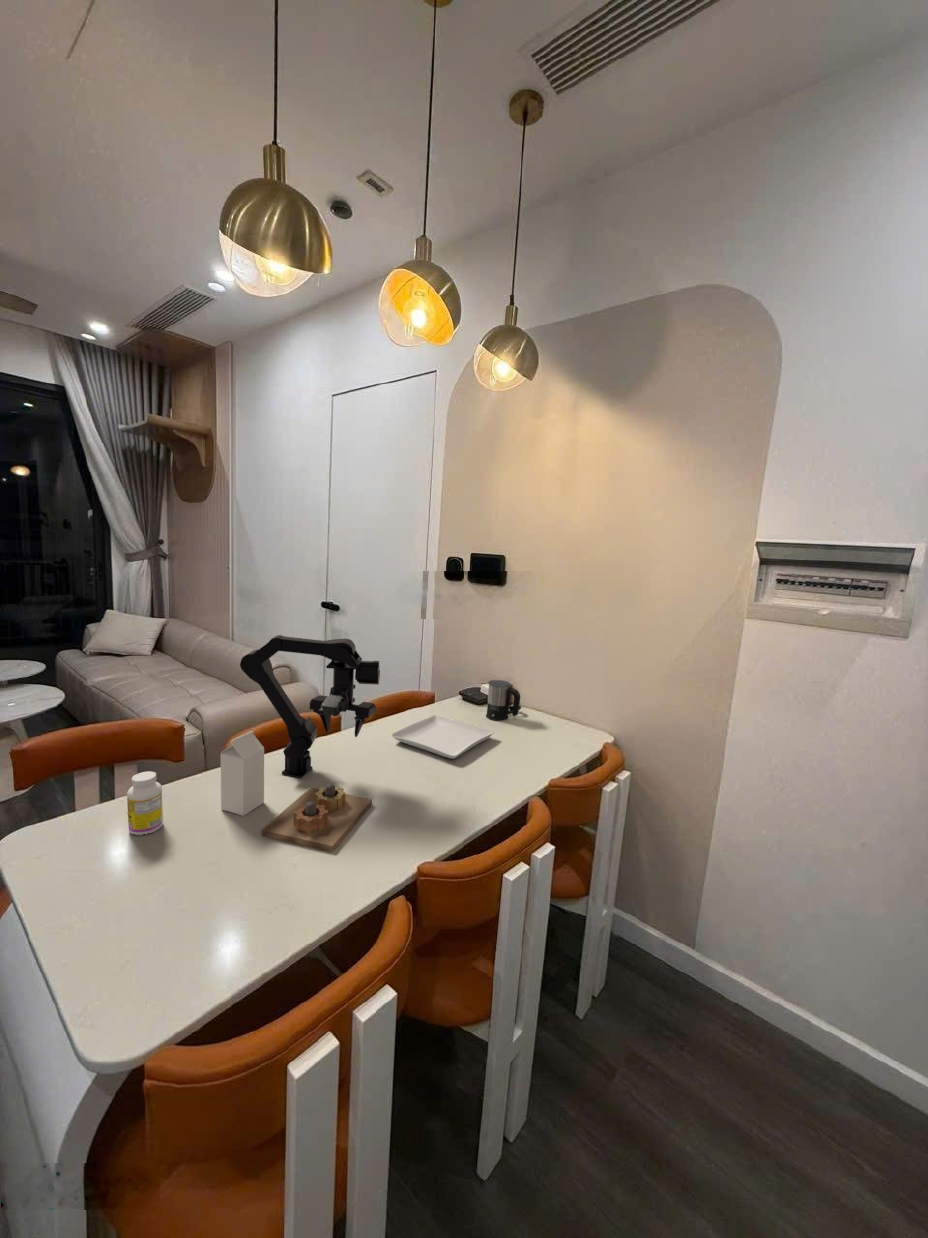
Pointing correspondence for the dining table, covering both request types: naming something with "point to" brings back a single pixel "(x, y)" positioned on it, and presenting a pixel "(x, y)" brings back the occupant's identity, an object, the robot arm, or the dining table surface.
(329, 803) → the wooden gear
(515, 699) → the milk frother
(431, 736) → the square plate
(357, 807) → the gear board
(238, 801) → the milk carton
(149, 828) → the supplement bottle
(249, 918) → the dining table surface
